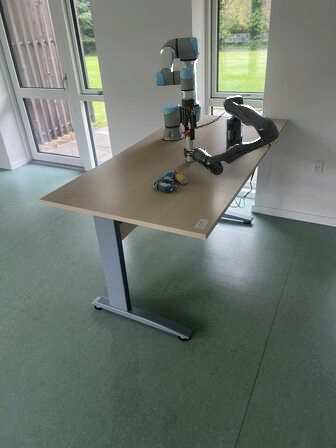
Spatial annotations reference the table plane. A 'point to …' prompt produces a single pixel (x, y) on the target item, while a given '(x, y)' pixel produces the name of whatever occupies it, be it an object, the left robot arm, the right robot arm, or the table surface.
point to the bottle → (189, 147)
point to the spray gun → (169, 181)
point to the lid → (187, 133)
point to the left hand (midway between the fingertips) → (189, 138)
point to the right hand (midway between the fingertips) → (188, 148)
